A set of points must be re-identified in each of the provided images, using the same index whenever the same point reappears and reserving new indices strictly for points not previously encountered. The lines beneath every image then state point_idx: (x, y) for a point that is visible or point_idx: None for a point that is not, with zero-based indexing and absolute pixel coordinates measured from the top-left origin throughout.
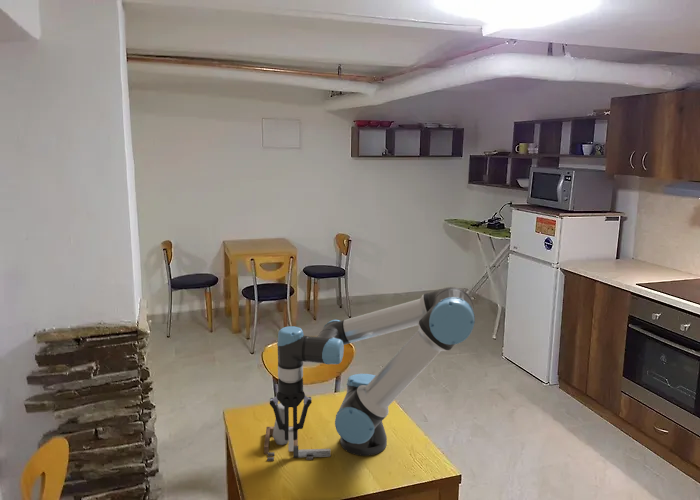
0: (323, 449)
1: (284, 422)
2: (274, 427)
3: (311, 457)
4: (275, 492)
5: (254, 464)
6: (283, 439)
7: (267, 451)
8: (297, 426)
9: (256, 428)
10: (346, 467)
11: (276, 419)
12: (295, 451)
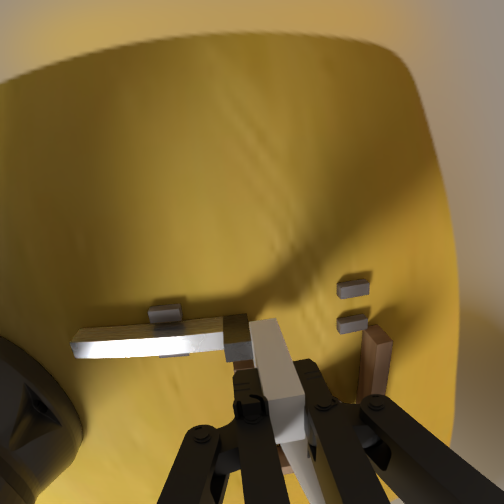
0: (102, 353)
1: None
2: None
3: (155, 312)
4: (297, 44)
5: (411, 249)
6: None
7: (369, 333)
8: (235, 443)
9: None
10: (11, 257)
11: (443, 445)
12: (238, 331)
